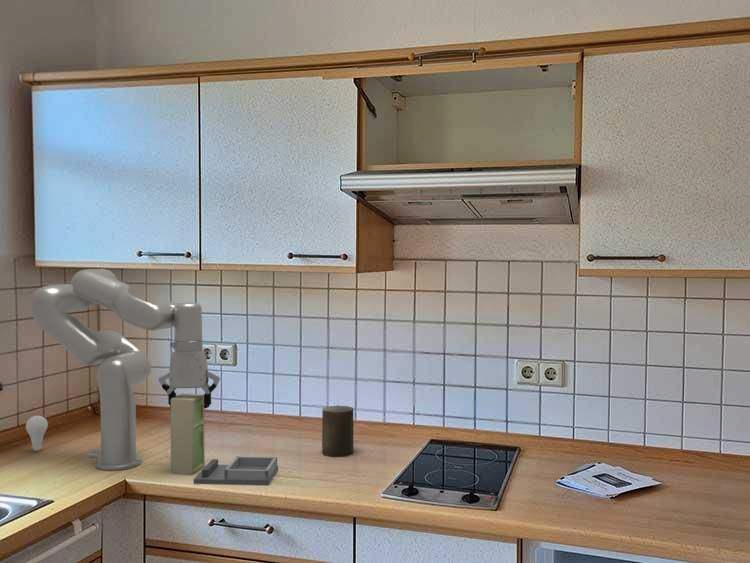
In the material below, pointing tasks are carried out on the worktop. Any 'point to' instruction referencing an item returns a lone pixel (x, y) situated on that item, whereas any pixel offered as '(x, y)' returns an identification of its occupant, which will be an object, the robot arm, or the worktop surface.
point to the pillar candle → (337, 431)
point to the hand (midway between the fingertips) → (190, 407)
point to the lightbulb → (36, 430)
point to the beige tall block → (187, 433)
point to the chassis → (239, 471)
